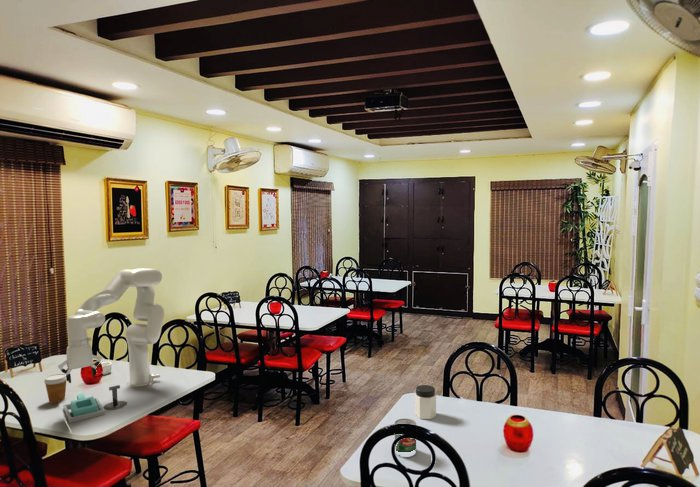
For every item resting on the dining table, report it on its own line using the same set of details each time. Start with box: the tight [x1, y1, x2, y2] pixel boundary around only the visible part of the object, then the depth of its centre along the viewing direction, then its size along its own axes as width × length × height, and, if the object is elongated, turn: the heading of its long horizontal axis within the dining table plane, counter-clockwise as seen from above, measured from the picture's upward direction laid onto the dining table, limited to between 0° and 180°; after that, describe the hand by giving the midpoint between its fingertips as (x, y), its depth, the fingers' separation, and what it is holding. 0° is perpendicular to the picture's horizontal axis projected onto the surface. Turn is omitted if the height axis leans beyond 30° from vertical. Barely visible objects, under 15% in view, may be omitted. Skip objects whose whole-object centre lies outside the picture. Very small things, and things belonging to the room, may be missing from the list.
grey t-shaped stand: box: [103, 384, 128, 411], centre depth 225 cm, size 10×10×10 cm
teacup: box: [100, 361, 113, 376], centre depth 271 cm, size 10×8×5 cm
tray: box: [63, 397, 106, 424], centre depth 218 cm, size 14×18×3 cm
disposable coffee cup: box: [43, 373, 67, 405], centre depth 233 cm, size 10×10×12 cm
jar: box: [414, 384, 437, 420], centre depth 211 cm, size 9×8×12 cm
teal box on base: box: [70, 393, 99, 417], centre depth 219 cm, size 9×14×4 cm, turn 38°
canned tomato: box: [394, 418, 417, 452], centre depth 181 cm, size 8×8×11 cm
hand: (81, 379), depth 222 cm, fingers open, 9 cm apart
